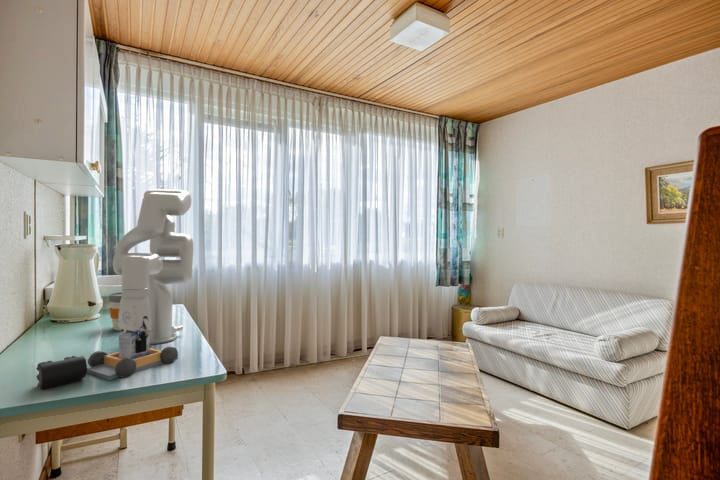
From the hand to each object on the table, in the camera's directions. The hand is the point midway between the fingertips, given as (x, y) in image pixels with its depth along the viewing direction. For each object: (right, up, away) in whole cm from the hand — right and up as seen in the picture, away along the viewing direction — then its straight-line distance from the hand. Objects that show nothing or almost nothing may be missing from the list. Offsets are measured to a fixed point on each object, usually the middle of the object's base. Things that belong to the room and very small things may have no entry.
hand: (135, 349), depth 120 cm
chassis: (0, -5, 0) cm, 5 cm away
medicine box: (0, -3, 0) cm, 3 cm away
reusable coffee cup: (-32, -4, +47) cm, 57 cm away
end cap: (-11, -5, -16) cm, 20 cm away
